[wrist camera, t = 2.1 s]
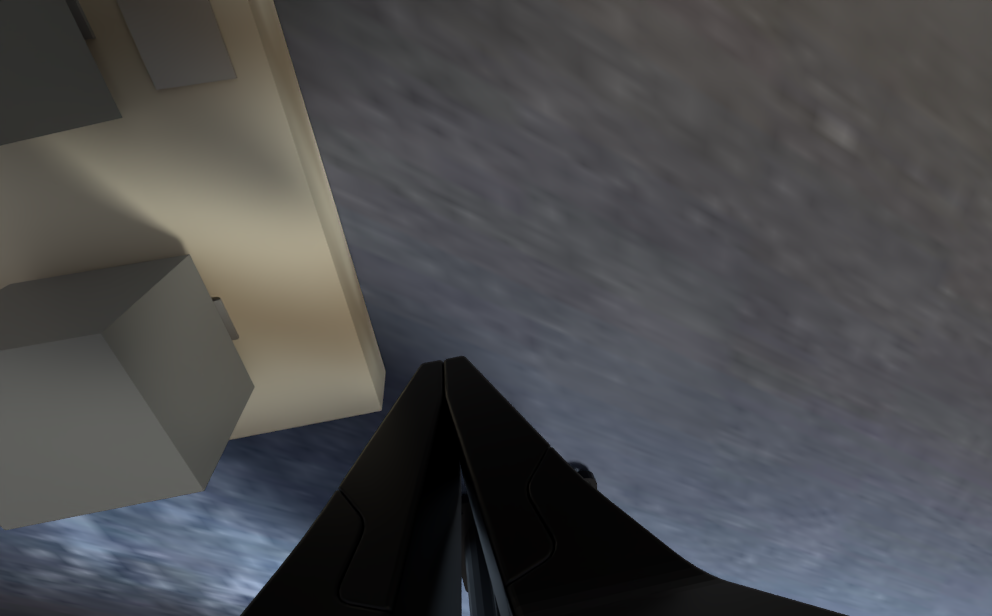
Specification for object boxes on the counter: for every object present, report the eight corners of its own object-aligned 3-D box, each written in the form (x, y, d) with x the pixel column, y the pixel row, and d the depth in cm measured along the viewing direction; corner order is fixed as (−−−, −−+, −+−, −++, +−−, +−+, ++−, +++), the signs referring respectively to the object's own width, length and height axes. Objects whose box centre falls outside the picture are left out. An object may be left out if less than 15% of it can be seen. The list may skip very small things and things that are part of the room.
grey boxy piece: (255, 386, 13) (203, 490, 10) (104, 414, 13) (4, 530, 10) (189, 254, 11) (101, 333, 8) (10, 284, 11) (-154, 377, 8)
